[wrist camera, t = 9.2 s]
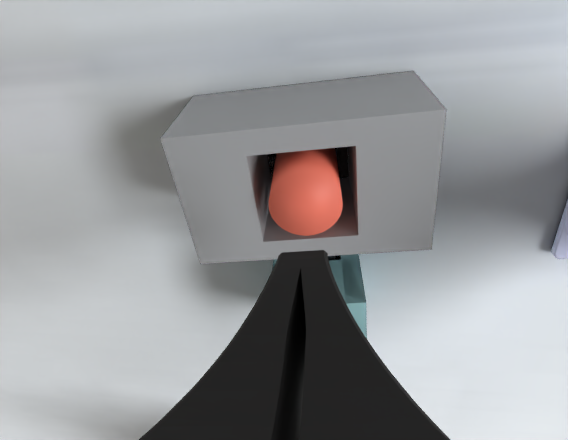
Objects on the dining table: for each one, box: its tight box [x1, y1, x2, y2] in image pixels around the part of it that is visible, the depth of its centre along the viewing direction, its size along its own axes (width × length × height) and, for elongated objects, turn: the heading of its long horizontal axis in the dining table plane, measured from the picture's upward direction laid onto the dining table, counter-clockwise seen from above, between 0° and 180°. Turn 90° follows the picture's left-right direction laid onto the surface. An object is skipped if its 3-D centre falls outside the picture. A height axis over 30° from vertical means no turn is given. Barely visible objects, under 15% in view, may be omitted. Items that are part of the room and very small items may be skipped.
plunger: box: [269, 148, 343, 236], centre depth 17 cm, size 3×3×4 cm
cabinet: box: [160, 71, 446, 264], centre depth 18 cm, size 10×6×5 cm, turn 97°
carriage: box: [272, 254, 367, 339], centre depth 22 cm, size 4×6×5 cm
